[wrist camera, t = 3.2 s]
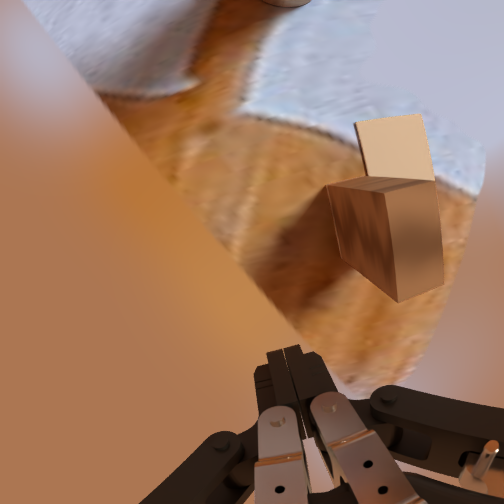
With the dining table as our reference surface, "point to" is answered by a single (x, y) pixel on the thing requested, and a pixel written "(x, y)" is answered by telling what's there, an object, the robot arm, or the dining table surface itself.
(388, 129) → the beige rectangular block
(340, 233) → the walnut block
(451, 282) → the dining table surface
